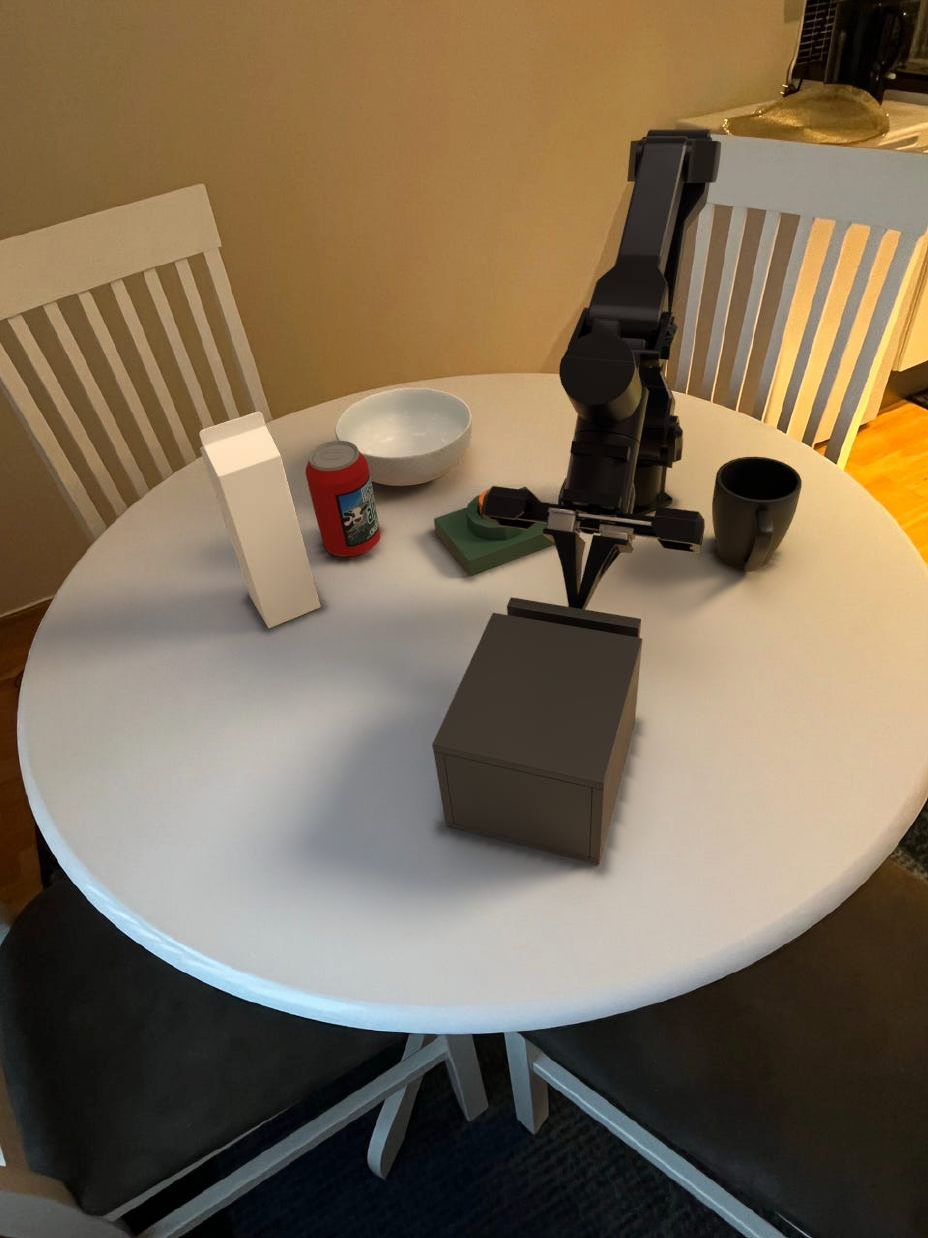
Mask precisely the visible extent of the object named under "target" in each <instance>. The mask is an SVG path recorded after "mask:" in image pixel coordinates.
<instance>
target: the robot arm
mask: <svg viewBox="0 0 928 1238" xmlns="http://www.w3.org/2000/svg"><path fill="white" fill-rule="evenodd" d="M711 132H712V131H711V129H710V128H699V129H698V128H697V129H696V128H688V129H685V128H684V129H683V128H682V129H681V128H680V129H679V128H678V129H677V128H676V129H672V128H671V129H666V128H665V129H662V128H661V129H649V130H648V131H647V134H646V136H643V137H642V138H640V139H638V140H637V139H636V140H631V141H630V144H629V145H630V146H629V154H628V155H629V157H628V167H627V168H628V169H627V179H626V182H629V183H630V182H631V183H634V185H633V188H632V193H631V196H630V200H629V204H628V209H627V213H626V216H625V217H626V218H625V222H624V226H623V231H622V235H621V239H620V243H619V247H618V251H617V256H616V258H615V261H614V262H615V263H614V265H613V266H612V267H610V268H609V269H608V270H607V271H606V272H605V273H603V274H602V275H601V276H600V277H599V278H598V279H597V280H596V282H595V285H594V288H593V291H592V294H591V298H590V302H589V305H588V307H586V306H585V307H583V309H582V311H581V314H580V316H579V318H578V320H577V323H576V325H575V327H574V330H573V332H572V335H571V337H570V339H569V342H568V343H567V349H566V351H565V353H564V354H563V356H562V357H561V359H560V363H559V367H558V368H559V372H558V373H559V381H560V384H561V386H562V388H563V390H564V392H565V394H566V395H567V398H568V399H569V401H570V403H571V405H572V407H573V409H574V411H575V412H576V413H577V416H576V422H575V426H574V427H575V428H574V433H573V439H572V441H571V444H570V450H569V453H570V455H569V460H568V468H567V472H566V477H565V478H564V480H563V482H562V485H561V486H560V490H559V493H558V497H557V503H553V502H545V501H541V500H540V499H539V497H537V496H536V495H535V494H534V493H533V492H532V491H531V490H530V489H529V490H530V491H529V490H521V489H520V488H511V487H506V486H505V487H504V486H498V485H492V486H491V487H490V488H489V489H487V490H488V491H487V490H486V491H487V492H486V494H485V496H484V498H483V504H482V509H481V516H483V517H484V518H486V519H487V520H489V521H490V522H492V523H493V524H495V525H499V526H504V527H511V528H518V529H525V530H529V529H530V528H532V527H533V526H534V525H536V524H537V523H546V525H547V527H546V528H544V529H543V535H544V536H545V537H547V538H548V539H549V540H551V541H552V542H554V543H555V544H554V546H555V549H556V552H557V554H558V555H557V556H558V558H559V562H560V565H561V570H562V575H563V576H562V577H563V581H564V582H563V583H564V587H565V593H566V599H567V605H568V606H567V607H573V608H579V609H585V610H587V607H588V605H589V603H590V601H591V600H592V598H593V596H594V594H595V592H596V590H597V589H598V586H599V584H600V583H601V581H602V579H603V577H604V576H605V575H606V573H607V571H608V570H609V569H610V567H611V566H612V564H613V563H614V562H615V561H616V560H617V558H619V556H620V555H621V554H633V552H634V546H633V542H634V540H635V539H636V537H642V538H649V539H656V540H657V541H658V542H659V544H660V545H661V546H662V548H663V549H664V550H669V551H670V550H671V551H677V552H684V553H691V554H701V552H702V547H703V542H704V541H703V540H704V535H705V529H706V527H705V526H706V525H705V519H704V517H703V516H702V514H701V513H700V511H698V510H697V511H696V510H688V509H681V508H680V509H679V508H673V507H667V506H669V505H672V504H673V500H674V499H673V497H672V496H671V495H669V493H666V483H667V473H668V468H669V469H673V466H674V463H676V462H679V461H681V460H682V458H683V449H684V430H683V429H682V427H681V424H680V417H679V415H675V409H676V399H675V397H674V394H673V392H672V389H671V386H670V384H669V381H668V379H667V377H666V371H667V365H668V361H669V360H670V359H671V356H672V353H673V351H674V349H675V346H676V344H677V340H678V335H679V326H678V325H677V324H676V316H675V312H676V305H677V297H678V293H679V292H678V291H679V285H680V277H681V271H682V265H683V257H684V252H685V244H686V239H687V231H688V230H689V228H690V227H691V226H692V224H693V223H694V222H695V220H696V219H697V218H698V216H699V215H700V213H701V212H702V211H703V210H704V208H705V207H706V205H707V204H708V198H709V197H708V196H709V191H710V186H711V184H712V183H716V182H717V179H718V174H719V169H720V162H721V152H722V142H721V141H719V140H713V138H712V135H711V134H712V133H711ZM540 501H541V502H540ZM654 511H655V513H654V516H653V515H645V514H648V513H651V512H654ZM581 533H582V534H586V535H590V536H591V535H592V538H591V542H590V546H589V550H588V553H587V558H586V561H585V565H584V570H583V557H584V552H585V549H586V541H585V540H584V539H583V538H582V537H581ZM582 571H583V573H582Z"/></svg>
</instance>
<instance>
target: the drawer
mask: <svg viewBox="0 0 928 1238" xmlns="http://www.w3.org/2000/svg"><path fill="white" fill-rule="evenodd" d="M506 612H507V613H506V615H510V616H516V617H522V618H527V619H533V620H539V621H545V622H551V623H557V624H562V625H568V626H574V627H580V628H586V629H591V630H597V631H603V632H609V633H615V634H620V635H626V636H632V637H638V638H641V629H642V618H639V617H635V616H627V615H621V614H614V613H609V612H603V611H597V610H591V609H579V608H573V607H569V606H567V605H562V604H561V605H560V604H555V603H550V602H549V603H547V602H542V601H536V600H530V599H526V598H518V597H510V598H509V600H508V603H507V604H506Z"/></svg>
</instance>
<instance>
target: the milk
mask: <svg viewBox="0 0 928 1238" xmlns="http://www.w3.org/2000/svg"><path fill="white" fill-rule="evenodd" d="M198 434H199V438H200V442H201V444H202V445H201V447H199V450H200V453H201V457H202V459H203V462H204V465H205V468H206V471H207V474H208V477H209V479H210V483H211V485H212V489H213V492H214V494H215V498H216V500H217V504H218V506H219V509H220V511H221V515H222V519H223V521H224V523H225V527H226V530H227V533H228V535H229V538H230V541H231V544H232V547H233V550H234V553H235V556H236V559H237V562H238V565H239V568H240V569H241V574H242V576H243V580H244V582H245V585H246V587H247V588H246V589H247V591H248V594H249V597H250V599H251V601H252V603H253V604H254V606H255V607H256V610H257V611H258V613H259V614H260V616H261V619H262V620H263V621H264V623H265V624H266V627H267V628H268V629H271V628H272V629H273V628H274V627H276V626H278V625H281V624H284V623H286V622H288V621H291V620H293V619H296V618H298V617H301V616H303V615H305V614H308V613H310V612H313V611H315V610H318V609H320V608H321V607H322V606H321V602H320V598H319V595H318V592H317V587H316V583H315V580H314V577H313V571H312V568H311V564H310V561H309V558H308V557H309V556H308V553H307V550H306V546H305V542H304V539H303V536H302V535H303V534H302V532H301V527H300V524H299V520H298V516H297V512H296V509H295V505H294V500H293V497H292V494H291V489H290V486H289V483H288V479H287V475H286V471H285V468H284V463H283V460H282V459H283V458H282V456H281V454H280V451H279V449H278V447H277V446H276V443H275V441H274V439H273V438H272V436H271V433H270V431H269V429H268V428H267V426H266V421H265V418H264V415H263V413H262V412H261V411H255V412H252V413H249V414H246V415H242V416H239V417H237V418H234V419H230V420H228V421H224V422H222V423H218V424H215V425H212V426H209V427H206V428H202V429H201V430H200V431H199V432H198Z"/></svg>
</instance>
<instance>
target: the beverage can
mask: <svg viewBox="0 0 928 1238" xmlns="http://www.w3.org/2000/svg"><path fill="white" fill-rule="evenodd" d="M304 471H305V472H304V473H305V477H306V481H307V486H308V490H309V494H310V499H311V503H312V507H313V509H314V516H315V519H316V522H317V523H316V524H317V527H318V530H319V535H320V538H321V542H322V545H323V547H324V548H325V550H326V551H327V552H329V553H330V554H332V555H335V556H338V557H340V556H341V557H355V556H359V555H362V554H365V553H366V552H368V551H370V550H371V549H373V548H374V547H376V545H377V544H378V542H379V541H380V539H381V529H380V523H379V517H378V512H377V505H376V501H375V495H374V490H373V485H372V481H371V479H370V474H369V469H368V464H367V460H366V458H365V457H364V456H363V455H362V454H361V453H360V451H359V450H358V448H357V446H356V445H354V444H353V443H351V442H347V441H337V440H332V441H327V442H323V443H321V444H319V445H317V446H315V447H314V448H313V449H312V450H311V451H310V452H309V454H308V461H307V464H306V467H305V470H304Z"/></svg>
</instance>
